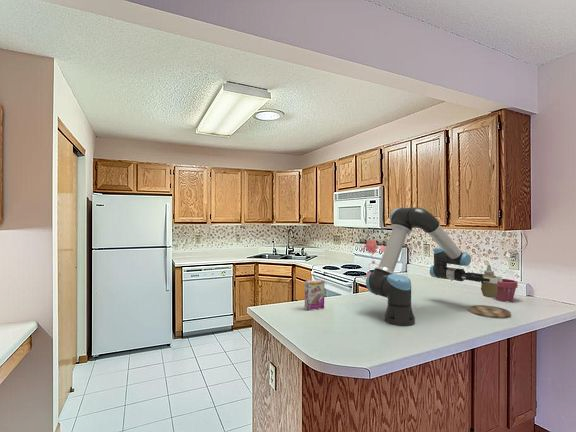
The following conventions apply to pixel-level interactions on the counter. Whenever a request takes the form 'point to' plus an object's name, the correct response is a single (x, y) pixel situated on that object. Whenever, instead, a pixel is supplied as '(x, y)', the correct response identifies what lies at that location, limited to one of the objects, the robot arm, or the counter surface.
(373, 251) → the figurine
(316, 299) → the candy bar box
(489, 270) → the squeeze bottle
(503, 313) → the walnut board
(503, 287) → the plant pot
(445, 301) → the counter surface
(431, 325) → the counter surface
